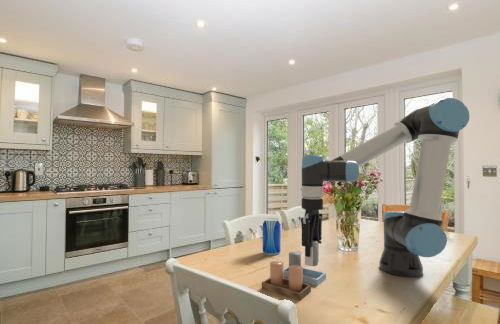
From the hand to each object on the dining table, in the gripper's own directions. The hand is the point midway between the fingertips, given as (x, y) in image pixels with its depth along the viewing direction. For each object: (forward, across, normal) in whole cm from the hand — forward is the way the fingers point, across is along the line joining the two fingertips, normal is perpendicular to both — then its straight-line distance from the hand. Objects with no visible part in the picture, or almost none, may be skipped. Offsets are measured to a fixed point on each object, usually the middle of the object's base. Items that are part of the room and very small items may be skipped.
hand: (311, 263), depth 99 cm
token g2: (0, 0, 0) cm, 0 cm away
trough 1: (+6, +13, -3) cm, 15 cm away
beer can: (+7, -18, -28) cm, 34 cm away
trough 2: (+6, 0, -3) cm, 7 cm away
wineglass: (+6, -109, +31) cm, 113 cm away
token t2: (+6, +13, 0) cm, 14 cm away
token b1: (+6, 0, -7) cm, 9 cm away
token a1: (+6, +13, -7) cm, 16 cm away
